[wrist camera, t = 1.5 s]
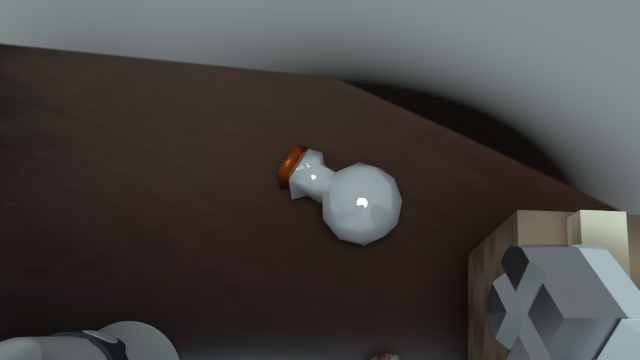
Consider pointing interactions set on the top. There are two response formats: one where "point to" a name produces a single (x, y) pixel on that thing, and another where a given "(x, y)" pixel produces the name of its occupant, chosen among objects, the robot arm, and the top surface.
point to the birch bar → (601, 233)
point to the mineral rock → (386, 357)
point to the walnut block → (486, 268)
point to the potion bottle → (344, 194)
